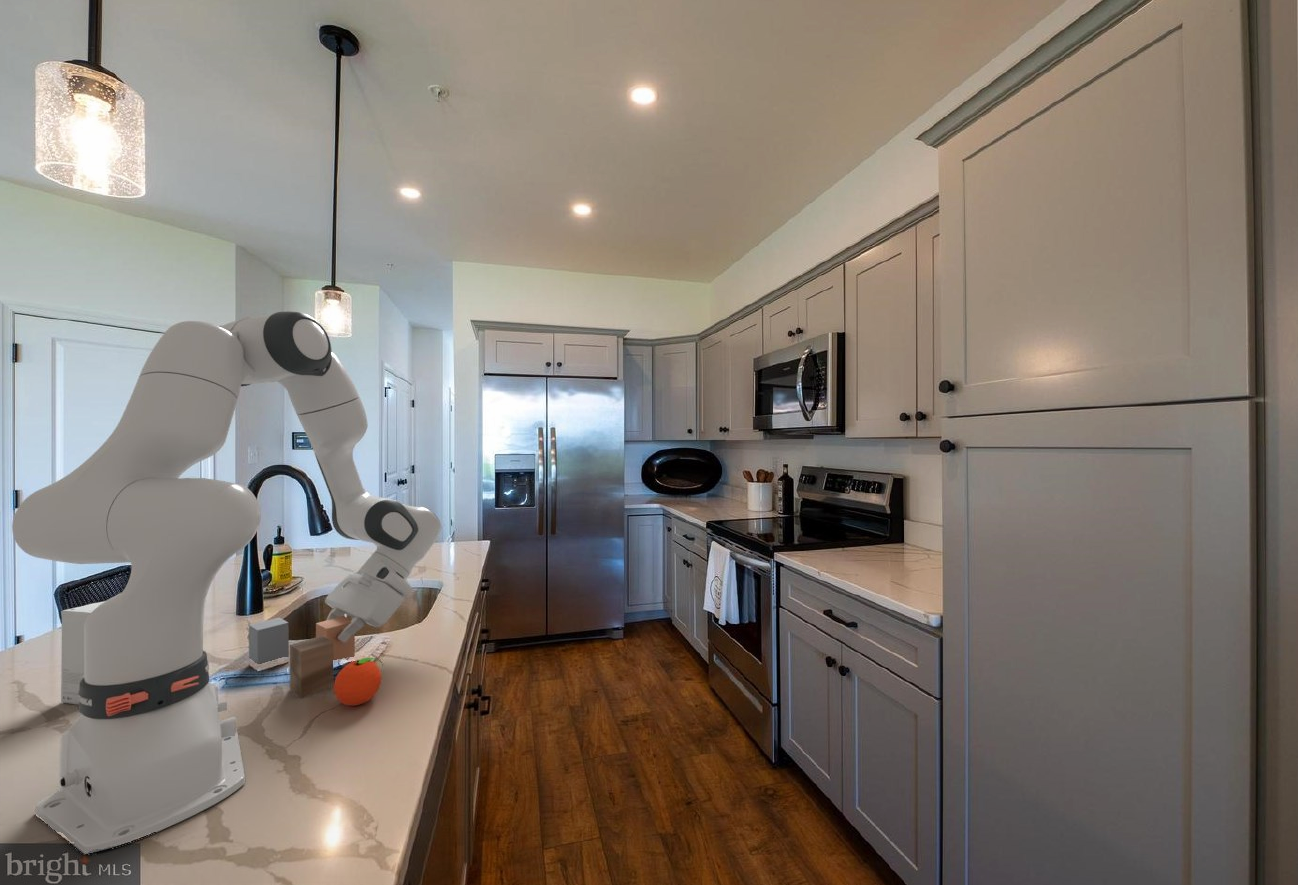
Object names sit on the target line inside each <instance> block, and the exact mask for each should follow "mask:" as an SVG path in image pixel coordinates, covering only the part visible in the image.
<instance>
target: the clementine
mask: <svg viewBox="0 0 1298 885" xmlns="http://www.w3.org/2000/svg"><path fill="white" fill-rule="evenodd" d="M372 660H377V661H379V662H380V663H381V665H382V666H384V665H383V662H382V660H381V659H378V658H375V657H366V658H361V659H356V660H355V661H353V662H350V663H347V664H345V665H344V667H342V668H341V670H340V671H339V672H338V673H337V675H336V678H335V680H334V687H333V692H334V693H333V694H334V695H335V697H336V699H337V701H339V702H340V703H341V704H343V705H347V706H353V707H355V706H359V705H362V704H364V703H367V702H368V701H369V700H371V699H372V698H373V697H374V696H375V695H376V693H377V692H378V691H379V688H380V687H381V684H382V671H381V669H380V667H378V665H377V664H376V663H375V662H373V661H372Z"/></svg>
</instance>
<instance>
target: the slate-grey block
mask: <svg viewBox="0 0 1298 885" xmlns="http://www.w3.org/2000/svg"><path fill="white" fill-rule="evenodd" d="M289 632H290V631H289V622H288V621H287V620H285V619H283V618H281V617H276V618H271V619H268V620H263V621H260V622H259V621H258V622H255V623H252V624H251V623H250V624H249V625H248V659H249V658H250V659H252V660H253V661H254V662H255V663H257V664H262V663H265V662H268V661H272V660H275V659H278V658H282V657H289V658H290V644H289V635H290V634H289Z"/></svg>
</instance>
